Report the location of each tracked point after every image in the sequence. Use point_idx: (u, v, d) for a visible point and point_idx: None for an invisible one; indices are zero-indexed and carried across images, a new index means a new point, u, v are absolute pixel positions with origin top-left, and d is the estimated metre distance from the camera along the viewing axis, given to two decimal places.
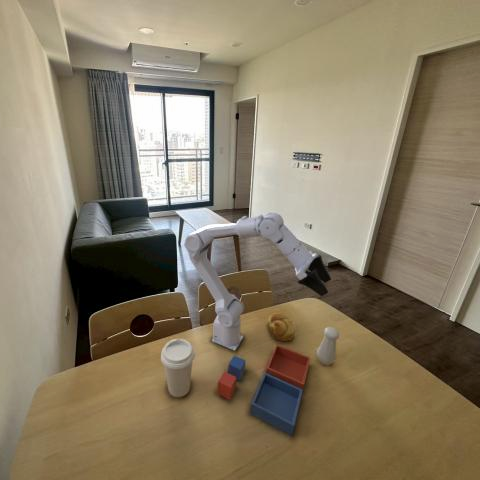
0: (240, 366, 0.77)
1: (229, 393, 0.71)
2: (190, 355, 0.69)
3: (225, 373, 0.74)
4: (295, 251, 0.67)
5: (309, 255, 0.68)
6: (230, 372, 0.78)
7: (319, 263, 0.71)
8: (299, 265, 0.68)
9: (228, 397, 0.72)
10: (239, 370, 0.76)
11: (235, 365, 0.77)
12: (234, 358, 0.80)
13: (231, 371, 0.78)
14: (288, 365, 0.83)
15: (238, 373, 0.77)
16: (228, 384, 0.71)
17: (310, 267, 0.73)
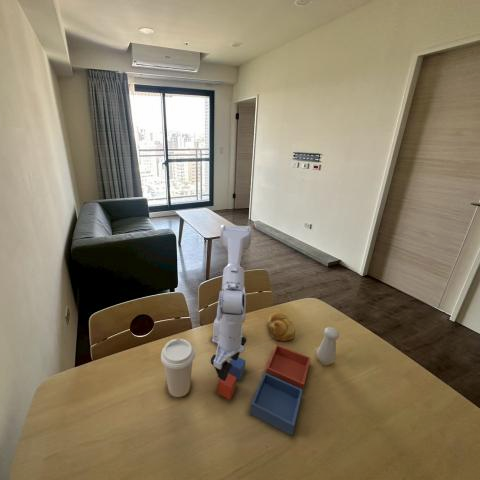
0: (240, 366, 0.77)
1: (229, 393, 0.71)
2: (190, 355, 0.69)
3: None
4: (230, 339, 0.63)
5: (238, 347, 0.65)
6: (230, 372, 0.78)
7: None
8: (223, 348, 0.65)
9: (228, 397, 0.72)
10: (239, 370, 0.76)
11: (235, 365, 0.77)
12: None
13: (231, 371, 0.78)
14: (288, 365, 0.83)
15: (238, 373, 0.77)
16: (228, 384, 0.71)
17: None
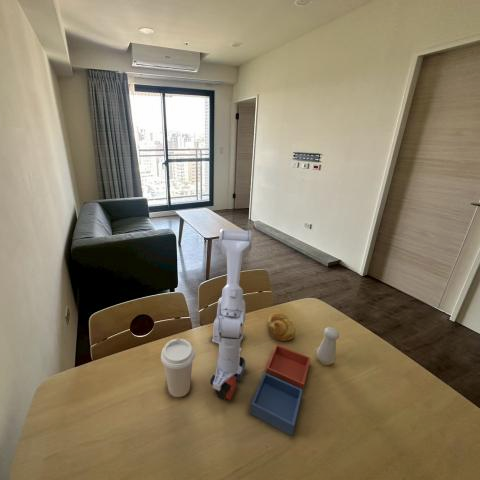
0: None
1: (229, 393, 0.71)
2: (190, 355, 0.69)
3: None
4: (229, 361, 0.66)
5: (236, 368, 0.68)
6: None
7: None
8: (222, 369, 0.68)
9: (228, 397, 0.72)
10: None
11: None
12: None
13: None
14: (288, 365, 0.83)
15: None
16: None
17: None
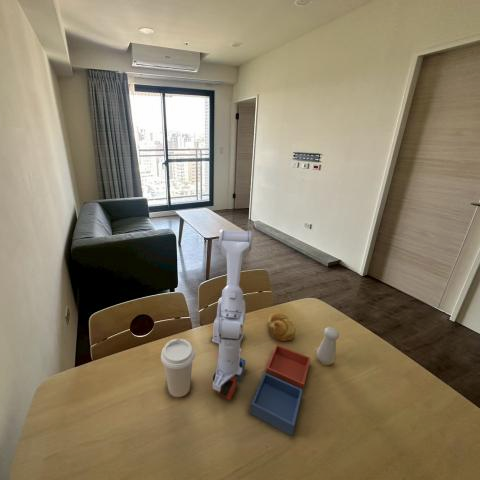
0: None
1: (229, 393, 0.71)
2: (190, 355, 0.69)
3: None
4: (229, 362, 0.66)
5: (236, 369, 0.68)
6: None
7: None
8: (222, 370, 0.68)
9: (228, 397, 0.72)
10: None
11: None
12: None
13: None
14: (288, 365, 0.83)
15: None
16: None
17: None
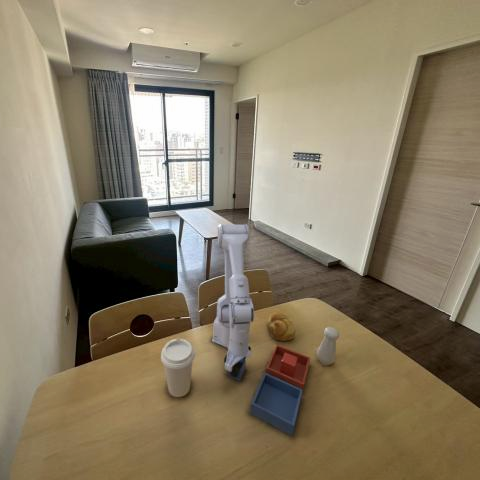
0: None
1: (292, 371, 0.78)
2: (190, 355, 0.69)
3: (286, 354, 0.81)
4: (239, 345, 0.72)
5: (245, 351, 0.74)
6: None
7: None
8: (233, 353, 0.74)
9: (291, 375, 0.78)
10: (239, 370, 0.76)
11: None
12: None
13: None
14: None
15: (238, 373, 0.77)
16: (291, 363, 0.78)
17: None
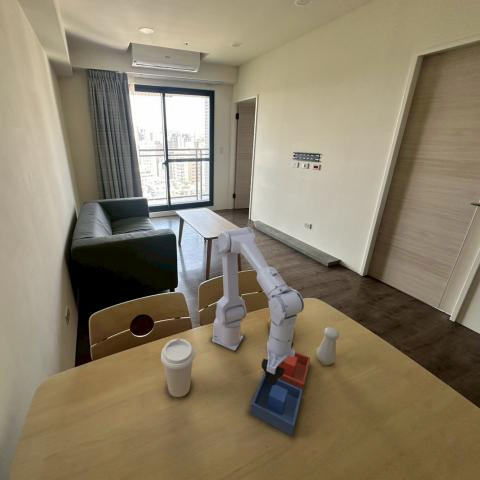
0: (283, 398, 0.67)
1: (292, 371, 0.78)
2: (190, 355, 0.69)
3: None
4: (283, 343, 0.62)
5: (289, 350, 0.64)
6: (270, 404, 0.69)
7: None
8: (274, 352, 0.64)
9: (291, 375, 0.78)
10: (282, 403, 0.66)
11: (277, 397, 0.67)
12: (274, 387, 0.70)
13: (271, 403, 0.68)
14: None
15: (281, 406, 0.67)
16: (291, 363, 0.78)
17: None
